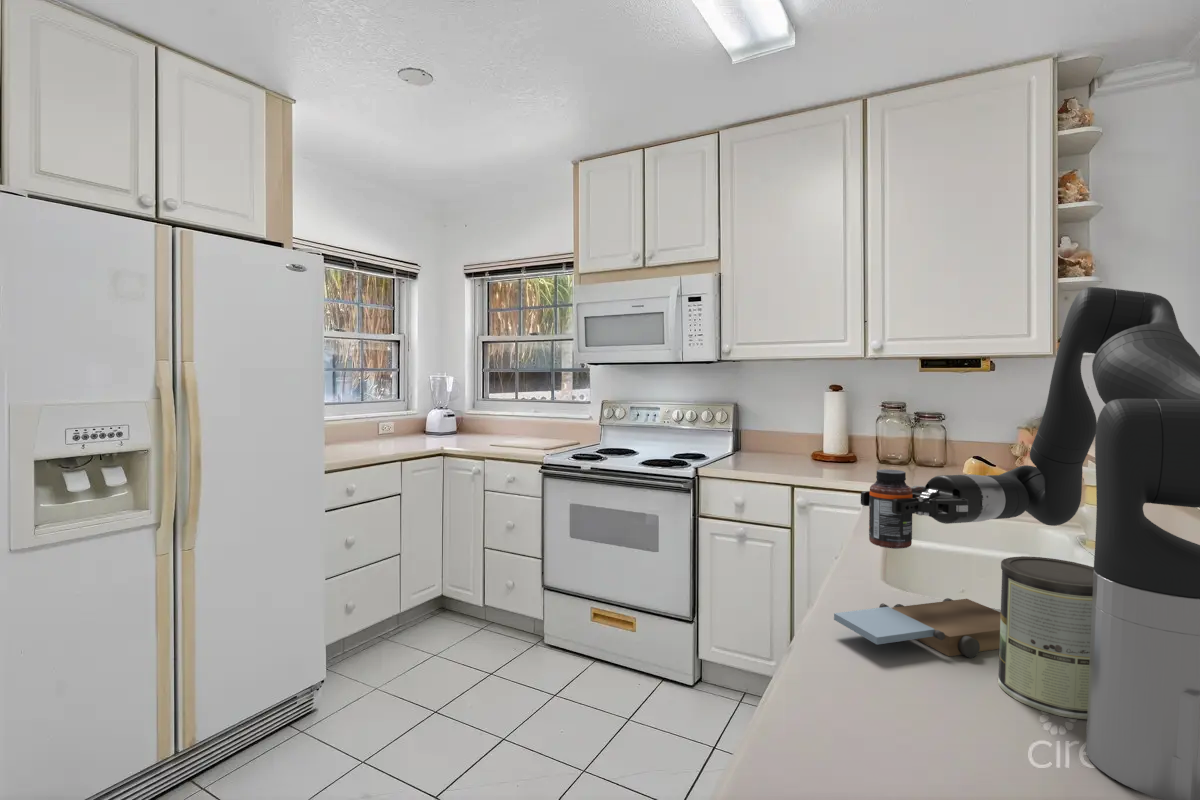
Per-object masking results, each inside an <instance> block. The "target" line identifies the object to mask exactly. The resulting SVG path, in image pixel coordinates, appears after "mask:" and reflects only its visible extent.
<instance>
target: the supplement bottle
mask: <svg viewBox="0 0 1200 800" xmlns="http://www.w3.org/2000/svg"><path fill="white" fill-rule="evenodd" d="M906 476H907V475H906V471H903V470H901V469H900V470H898V469H886V468H885V469H884V468H883V469H877V470H876V476H875V477H876V481H875V482H874V483H872V484H871V486H870V487H869V491H870V496H869V497H870V498H869V499H870V500H869V506H868V507H869V508H868V509H869V511H868V513H869V514H868V515H869V517H868V518H869V519H868V520H869V521H868V525H869V526H868V527H869V528H868V536H869V537H868V539H869V542H870V543H871V544H873V545H875V546H878V547H880V548H886V549H896V550H897V549H907V548H909V547H912V541H913V514H894V513H893V512H892V500H893V499H898V498H912V495H913V494H912V489H911V488H910V487H911V486H909V485H908V484H907V483H906V479H907V478H906Z"/></svg>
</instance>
